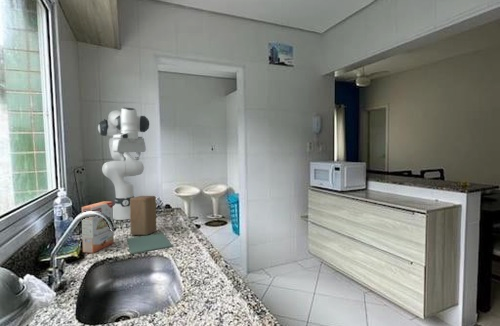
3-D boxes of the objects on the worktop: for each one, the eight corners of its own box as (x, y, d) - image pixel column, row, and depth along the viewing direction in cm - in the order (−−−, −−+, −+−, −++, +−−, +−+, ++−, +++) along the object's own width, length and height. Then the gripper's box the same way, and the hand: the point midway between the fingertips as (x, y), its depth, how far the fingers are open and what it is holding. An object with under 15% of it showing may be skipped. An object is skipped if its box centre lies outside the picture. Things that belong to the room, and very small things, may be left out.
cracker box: (94, 253, 118) (92, 207, 116) (82, 252, 118) (80, 206, 117) (115, 242, 131) (113, 201, 130) (104, 242, 132) (102, 200, 131)
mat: (126, 239, 135) (126, 238, 135) (163, 233, 144) (162, 232, 144) (130, 254, 116) (130, 253, 116) (172, 246, 125) (172, 245, 125)
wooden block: (146, 236, 139) (145, 198, 139) (129, 235, 141) (129, 197, 141) (157, 231, 149) (156, 195, 149) (141, 230, 151) (140, 195, 151)
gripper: (140, 136, 161) (140, 159, 162) (110, 135, 143) (111, 160, 143) (147, 136, 159) (148, 159, 159) (118, 135, 140) (119, 161, 141)
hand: (130, 160), depth 151 cm, fingers open, 8 cm apart
